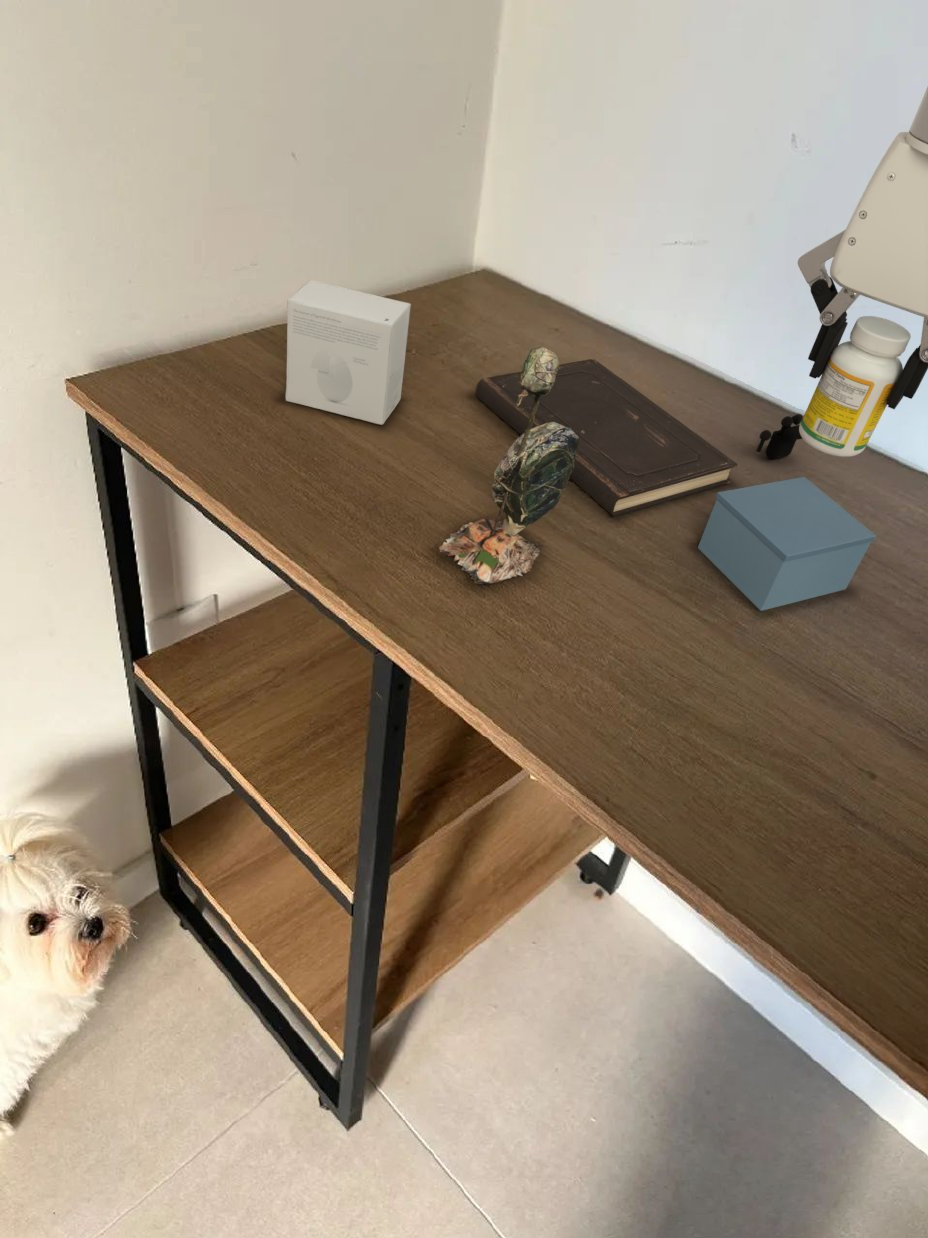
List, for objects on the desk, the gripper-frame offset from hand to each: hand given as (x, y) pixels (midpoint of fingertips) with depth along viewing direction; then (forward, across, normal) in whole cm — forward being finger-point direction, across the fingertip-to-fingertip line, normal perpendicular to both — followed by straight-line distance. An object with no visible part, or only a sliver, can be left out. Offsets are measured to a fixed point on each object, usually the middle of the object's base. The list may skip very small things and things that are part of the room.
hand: (856, 384), depth 71 cm
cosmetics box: (+18, +45, +5) cm, 49 cm away
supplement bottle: (+5, 0, 0) cm, 5 cm away
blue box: (+18, 0, 0) cm, 18 cm away
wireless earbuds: (+18, +6, -20) cm, 28 cm away
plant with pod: (+18, +19, +15) cm, 31 cm away
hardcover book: (+18, +22, -8) cm, 30 cm away
